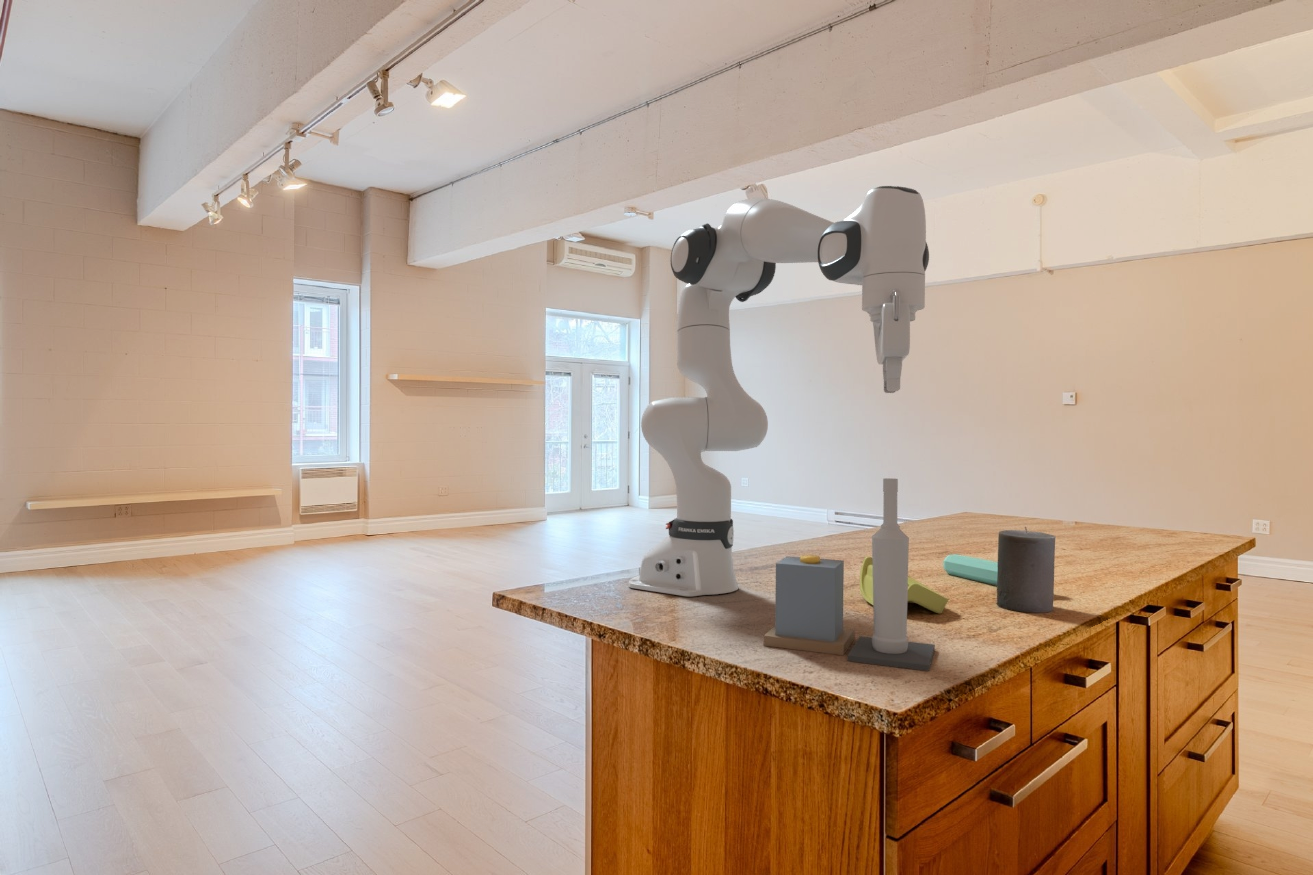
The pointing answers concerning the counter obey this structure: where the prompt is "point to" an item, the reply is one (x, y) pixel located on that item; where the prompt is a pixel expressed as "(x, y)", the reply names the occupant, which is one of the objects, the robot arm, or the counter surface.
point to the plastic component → (915, 590)
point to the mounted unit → (810, 606)
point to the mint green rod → (971, 568)
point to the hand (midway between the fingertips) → (891, 392)
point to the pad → (893, 655)
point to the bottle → (890, 578)
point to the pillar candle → (1025, 571)
